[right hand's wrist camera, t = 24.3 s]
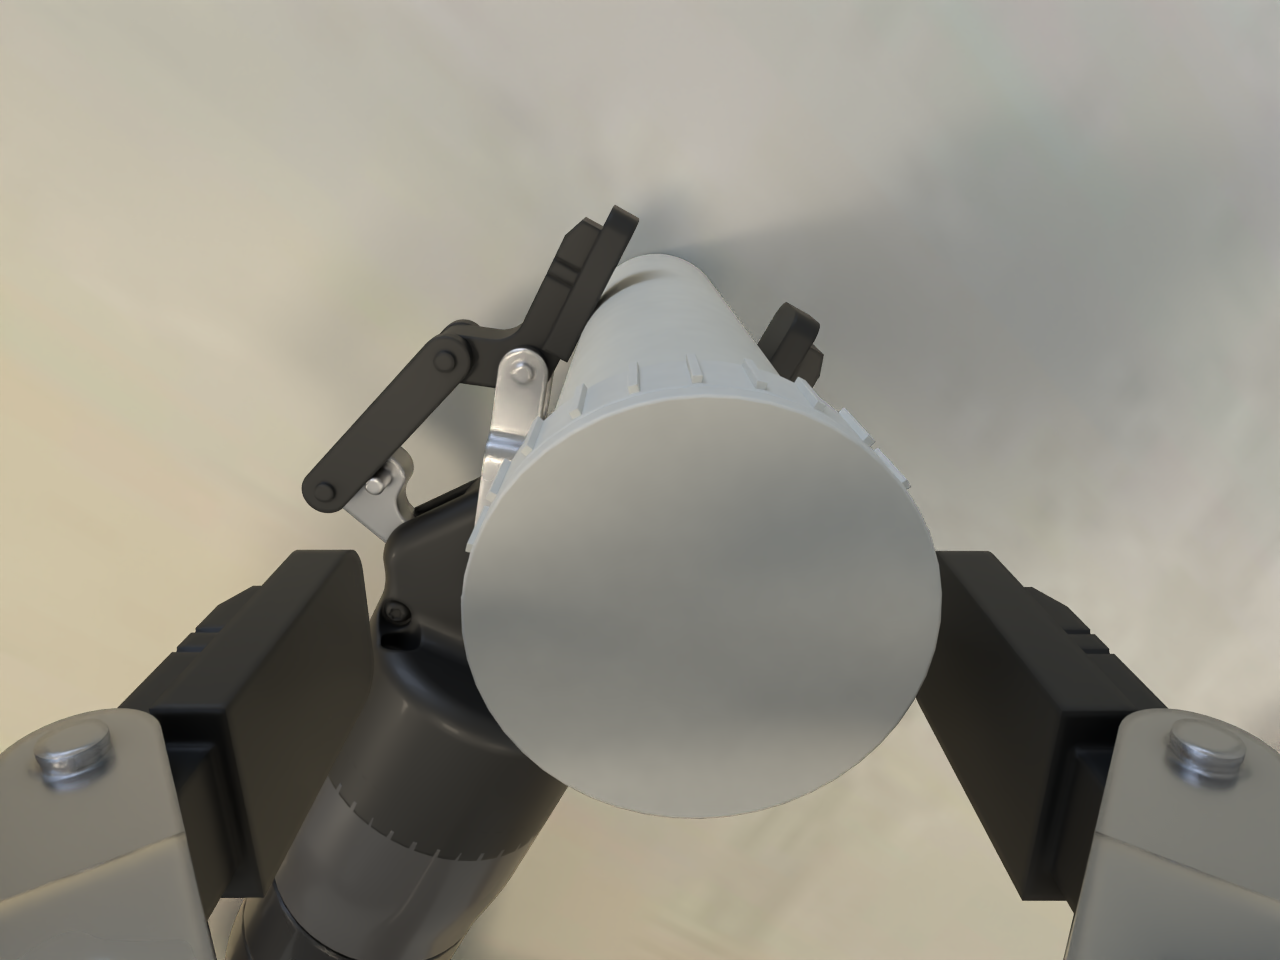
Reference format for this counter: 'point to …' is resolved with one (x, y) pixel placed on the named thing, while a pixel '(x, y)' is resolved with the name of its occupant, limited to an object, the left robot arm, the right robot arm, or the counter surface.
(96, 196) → the counter surface
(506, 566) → the lid
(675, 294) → the white cylindrical bottle
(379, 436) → the left robot arm
